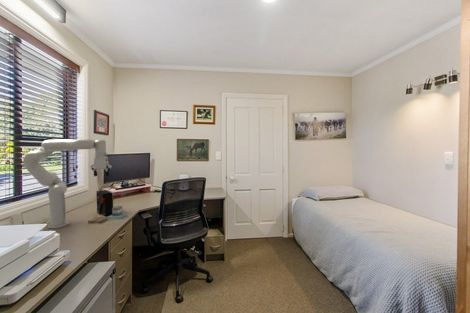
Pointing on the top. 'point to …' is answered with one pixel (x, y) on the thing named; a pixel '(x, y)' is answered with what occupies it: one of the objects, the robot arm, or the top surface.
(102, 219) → the stand
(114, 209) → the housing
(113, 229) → the top surface
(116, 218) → the stand
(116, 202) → the top surface
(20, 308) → the top surface
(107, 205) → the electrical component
